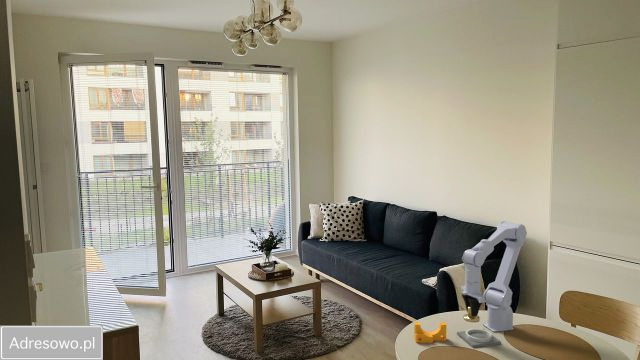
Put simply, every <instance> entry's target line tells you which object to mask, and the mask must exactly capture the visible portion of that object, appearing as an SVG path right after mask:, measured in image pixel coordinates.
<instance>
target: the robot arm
mask: <svg viewBox="0 0 640 360" xmlns="http://www.w3.org/2000/svg"><path fill="white" fill-rule="evenodd" d="M527 232H528V231H527V229H526V226H525V225H524V224H518V223H513V222H508V221H504V220H503V221H501V222H499V223H498V224H497V226H496V230H495V231H494V232H493V233H492V234H491V235H490V236H489V237H488V238H487V239H484V238H483V239H481V240H480V242H478V243H477V244H476V245H475V246H473V247H472V248H471V249H466V250H465V251H464V252H463V255H462V257H461V260H462V262H463V267H464V269H465V271H464V273H465V274H464V275H465V276H464V285H461V286H460V290H461V291H462V294H461V297H462V299H463V303H464V304H465V308H466V309H465V310H466V312H467V313H466V314H468V306H470V307H471V315H472V316H477V315H478V314H479V313H480V312H479V311H480V308H481V306H482V304H483V303H486V304H485V305H486V306H487V317H486V318H487V321H486V322H483V323H482V325H483V326H484V327H486V328H487V329H489V330H490V331H491V332H494V333H496V332H505V331H513V330H515V329H514V327H513V326H514V325H513V324H514V312H513V309H512V307H511V305H512V297H513V291H512V289H511V288H510V286H509V285H510V282H511V278H512V276H513V275H512V274H513V272H514V269H515V267H516V263H517V260H518V257H519V254H520V251H521V249H522V247H523V246H524V243H525V240H526V237H527V236H528V235H527ZM501 242H503V243H505V245H506V248H505V251H504V254H503V257H502V259H501V263H500V266H499V269H498V271H497V275H496V277H495V281H493V282H490V283H489V284H488V286H486V287H487V288H486V289H485V290H484V292H483V293H482V292H481V274H482V268H481V267H482V266H483V264H484V263H485V260H486V259H487V257H488V256H489V255H490V254H491V253H492V252H493V251H494V250H495V248H494V247H495V246H496V245H497V244H499V243H501ZM478 316H479V315H478Z"/></svg>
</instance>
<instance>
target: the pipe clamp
mask: <svg viewBox="0 0 640 360" xmlns="http://www.w3.org/2000/svg"><path fill="white" fill-rule="evenodd" d="M413 338H414V341H415V343H416V344H417V343H422V344H423V343H426V344H427V343H431V344H432V343H434V341H438V342H439V341H440V342H441V341H447V324H446V322H443V321H442V322H441V321H440V322H439V326H438V328H436V330H434V331H426V330H423V329H422V327H421V323H420V322H417V321H415V322H414V323H413Z"/></svg>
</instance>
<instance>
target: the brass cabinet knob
mask: <svg viewBox="0 0 640 360" xmlns="http://www.w3.org/2000/svg"><path fill="white" fill-rule="evenodd" d="M463 320H464V321H465V322H468V323H479V322H480V320H481V317H480V316H479V315H477V316H472V315H471V307H470V306H468V313H466V314H463Z"/></svg>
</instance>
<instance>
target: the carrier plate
mask: <svg viewBox="0 0 640 360" xmlns="http://www.w3.org/2000/svg"><path fill="white" fill-rule="evenodd" d="M456 335H457V336H458V337H459V338H460V339H462V340H463V341H464V342H465V343H466V344H467V345H468V346H470V347H471V348H480V347H488V346H489V347H491V346H497V345H502V341H501V340H500V339H499V338H497V337H496V336H494V335H493V334H492V333H491V332H490V331H488V330H486V329H485V328H468V329H467V330H462V331H456Z"/></svg>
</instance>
